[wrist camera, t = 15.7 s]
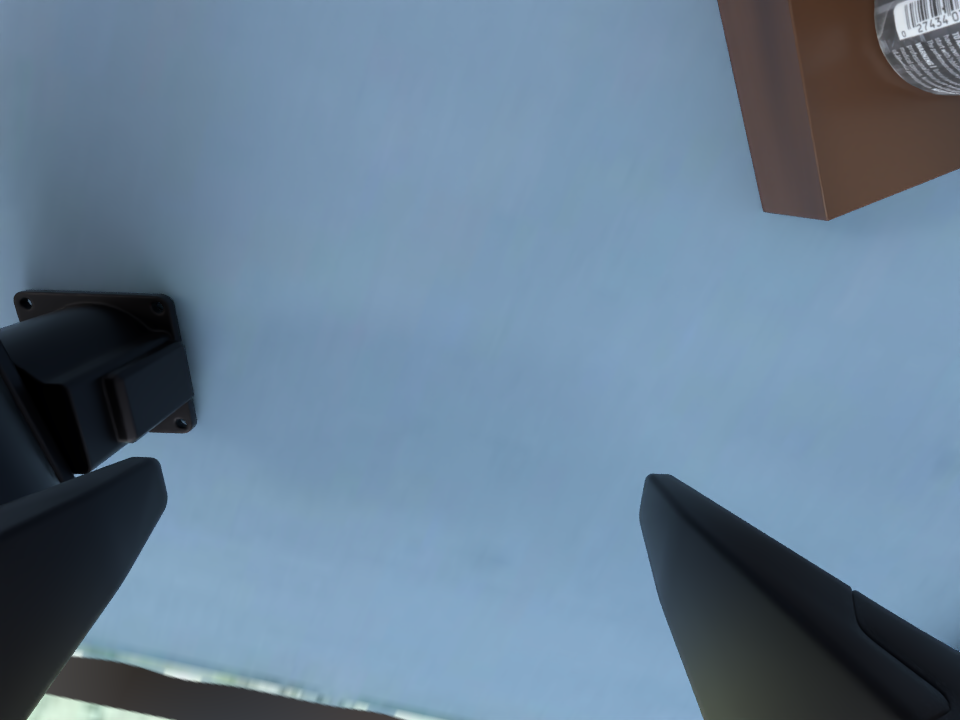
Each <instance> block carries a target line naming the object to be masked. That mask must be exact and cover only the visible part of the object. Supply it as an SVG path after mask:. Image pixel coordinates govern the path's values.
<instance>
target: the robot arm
mask: <svg viewBox="0 0 960 720" xmlns="http://www.w3.org/2000/svg"><path fill="white" fill-rule="evenodd" d="M28 299H29V300H30V301H31V302H32V305H30V304H29V302H28ZM157 302H159V303H160V304H161V305H162V306H163V311H162V310H160V309H159V308H158V307H157ZM14 305H15V308H16V311H17V314H18V318H19V321H20V322H19V323H16V324H13V325H10V326H6V327H3V328H0V720H27V719H28V717H29V716H30V714H31V713H32V711H33V710H34V709H35V707H36V706H37V704H38V703H39V701H40V700H41V699H42V697H43V696H44V694H45V693H46V692H47V690H48V689H49V687H50V686H51V684H52V683H53V682H54V680H55V679H56V677H57V676H58V674H59V673H60V672H61V670H62V669H63V667H64V666H65V665H66V663H67V662H68V660H69V659H70V657H71V656H72V655H73V653H74V652H75V650H76V649H77V647H78V646H79V645H80V643H81V642H82V640H83V639H84V638H85V636H86V635H87V633H88V632H89V630H90V629H91V628H92V626H93V625H94V623H95V622H96V620H97V619H98V618H99V616H100V615H101V613H102V612H103V611H104V609H105V608H106V606H107V605H108V603H109V602H110V601H111V599H112V598H113V596H114V595H115V593H116V592H117V590H118V589H119V587H120V586H121V584H122V583H123V581H124V579H125V578H126V576H127V574H128V573H129V571H130V569H131V568H132V566H133V564H134V562H135V561H136V559H137V557H138V555H139V554H140V552H141V550H142V548H143V547H144V545H145V543H146V541H147V540H148V538H149V536H150V534H151V533H152V531H153V529H154V527H155V526H156V524H157V522H158V520H159V519H160V517H161V515H162V513H163V512H164V510H165V508H166V505H167V491H166V486H165V482H164V478H163V473H162V469H161V465H160V463H159V461H158V460H157V459H155V458H150V457H131V458H128V459H125V460H122V461H120V462H117V463H114V464H111V465H109V466H106V467H103V468H100V469H98V470H95V471H92V470H93V469H95V468H96V467H97V466H99V465H100V464H101V463H103V462H104V461H105V460H107V459H108V458H109V457H111V456H112V455H113V454H114V453H116V452H117V451H118V450H120V449H121V448H122V447H124V446H125V445H126V444H128V443H134V442H136V441H137V440H139V439H140V438H141V437H142V436H144V435H145V434H146V433H148V432H157V433H187V432H189V431H190V430H192V429H193V428H194V427H195V425H196V424H197V419H196V414H195V409H194V404H193V399H192V397H193V395H194V393H193V388H192V383H191V378H190V373H189V367H188V362H187V357H186V352H185V347H184V345H183V344H182V342H181V336H180V331H179V326H178V321H177V316H176V311H175V306H174V303H173V301H172V300H171V299H170V297H168V296H166V295H164V294H151V293H120V292H90V291H59V290H26V291H22V292H18V293H17V294H15V296H14ZM180 419H183V420H184V421H185V422H186V424H187V425H186V424H184V423H182V422H181V420H180ZM91 471H92V472H91ZM89 472H90V473H89ZM74 474H84V475H81V476H79V477H76V478H75V477H74ZM639 519H640V525H641V529H642V533H643V537H644V541H645V545H646V549H647V553H648V557H649V561H650V565H651V569H652V573H653V577H654V581H655V585H656V589H657V593H658V596H659V600H660V603H661V606H662V609H663V612H664V614H665V617H666V620H667V622H668V625H669V628H670V630H671V633H672V636H673V638H674V641H675V644H676V646H677V649H678V652H679V654H680V657H681V660H682V662H683V665H684V668H685V670H686V673H687V676H688V678H689V681H690V684H691V686H692V689H693V692H694V694H695V697H696V700H697V702H698V705H699V708H700V710H701V713H702V716H703V718H704V720H960V652H958V651H957V650H955V649H953V648H951V647H950V646H948V645H946V644H944V643H943V642H941V641H939V640H937V639H936V638H934V637H932V636H930V635H929V634H927V633H925V632H923V631H922V630H920V629H918V628H917V627H915V626H913V625H912V624H910V623H908V622H907V621H905V620H903V619H902V618H900V617H898V616H897V615H895V614H894V613H892V612H890V611H889V610H887V609H885V608H884V607H882V606H880V605H879V604H877V603H876V602H874V601H872V600H871V599H869V598H868V597H866V596H864V595H863V594H861V593H860V592H858V591H856V590H854V591H852V589H851V587H850V586H848V585H847V584H845V583H843V582H842V581H840V580H839V579H837V578H835V577H834V576H832V575H831V574H829V573H827V572H826V571H824V570H823V569H821V568H819V567H818V566H816V565H815V564H813V563H811V562H810V561H808V560H807V559H805V558H803V557H802V556H800V555H799V554H797V553H795V552H794V551H792V550H791V549H789V548H787V547H786V546H784V545H783V544H781V543H779V542H778V541H776V540H775V539H773V538H771V537H770V536H768V535H766V534H765V533H763V532H762V531H760V530H758V529H757V528H755V527H754V526H752V525H750V524H749V523H747V522H746V521H744V520H742V519H741V518H739V517H738V516H736V515H734V514H733V513H731V512H730V511H728V510H726V509H725V508H723V507H722V506H720V505H718V504H717V503H715V502H714V501H712V500H710V499H709V498H707V497H706V496H704V495H702V494H701V493H699V492H698V491H696V490H694V489H693V488H691V487H690V486H688V485H686V484H685V483H683V482H682V481H680V480H678V479H677V478H675V477H674V476H672V475H669V474H649V475H648V476H647V477H646V479H645V483H644V488H643V494H642V500H641V505H640V512H639Z"/></svg>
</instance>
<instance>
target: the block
mask: <svg viewBox="0 0 960 720" xmlns="http://www.w3.org/2000/svg"><path fill="white" fill-rule="evenodd" d="M717 1H718V5H719V10H720V15H721V19H722V24H723V28H724V33H725V38H726V42H727V47H728V51H729V56H730V61H731V65H732V70H733V74H734V79H735V84H736V88H737V93H738V98H739V102H740V107H741V111H742V116H743V121H744V125H745V130H746V134H747V139H748V144H749V148H750V153H751V157H752V162H753V167H754V171H755V176H756V180H757V185H758V190H759V194H760V199H761V203H762V208H763V211H764V212H768V213H775V214H782V215H789V216H796V217H803V218H810V219H818V220H825V221H829V220H831V219H834V218H836V217H839V216H841V215H844V214H846V213H849V212H851V211H854V210H856V209H859V208H861V207H864V206H866V205H869V204H871V203H874V202H876V201H879V200H881V199H884V198H886V197H889V196H891V195H894V194H897V193H899V192H902V191H904V190H907V189H909V188H912V187H914V186H917V185H919V184H922V183H924V182H927V181H929V180H932V179H934V178H937V177H939V176H942V175H944V174H947V173H949V172H952V171H954V170H957V169H959V168H960V95H954V96H950V95H938V94H933V93H930V92H926V91H923V90H921V89H919V88H917V87H915V86H912V85H911V84H909V83H907V82H906V81H905V80H903V79H902V78H901V77H900V76H899V75H898V74H897V73H896V72H895V71H894V69H893V68H892V67H891V65H890V64H889V62H888V61H887V59H886V57H885V56H884V54H883V52H882V49H881V47H880V45H879V41H878V37H877V33H876V28H875V19H874V1H875V0H717Z"/></svg>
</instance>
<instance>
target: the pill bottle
mask: <svg viewBox="0 0 960 720" xmlns="http://www.w3.org/2000/svg"><path fill="white" fill-rule="evenodd" d="M874 19H875V28H876V33H877V37H878V41H879V45H880V47H881V49H882V52H883V54H884V56H885V57H886V59H887V61H888V62H889V64H890V65H891V67H892V68H893V69H894V71H895V72H896V73H897V74H898V75H899V76H900V77H901V78H902V79H903V80H905V81H906V82H907V83H909V84H911V85H912V86H915V87H917V88H919V89H921V90H923V91H926V92H930V93H933V94H938V95H950V96H954V95H960V0H875V1H874Z"/></svg>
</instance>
